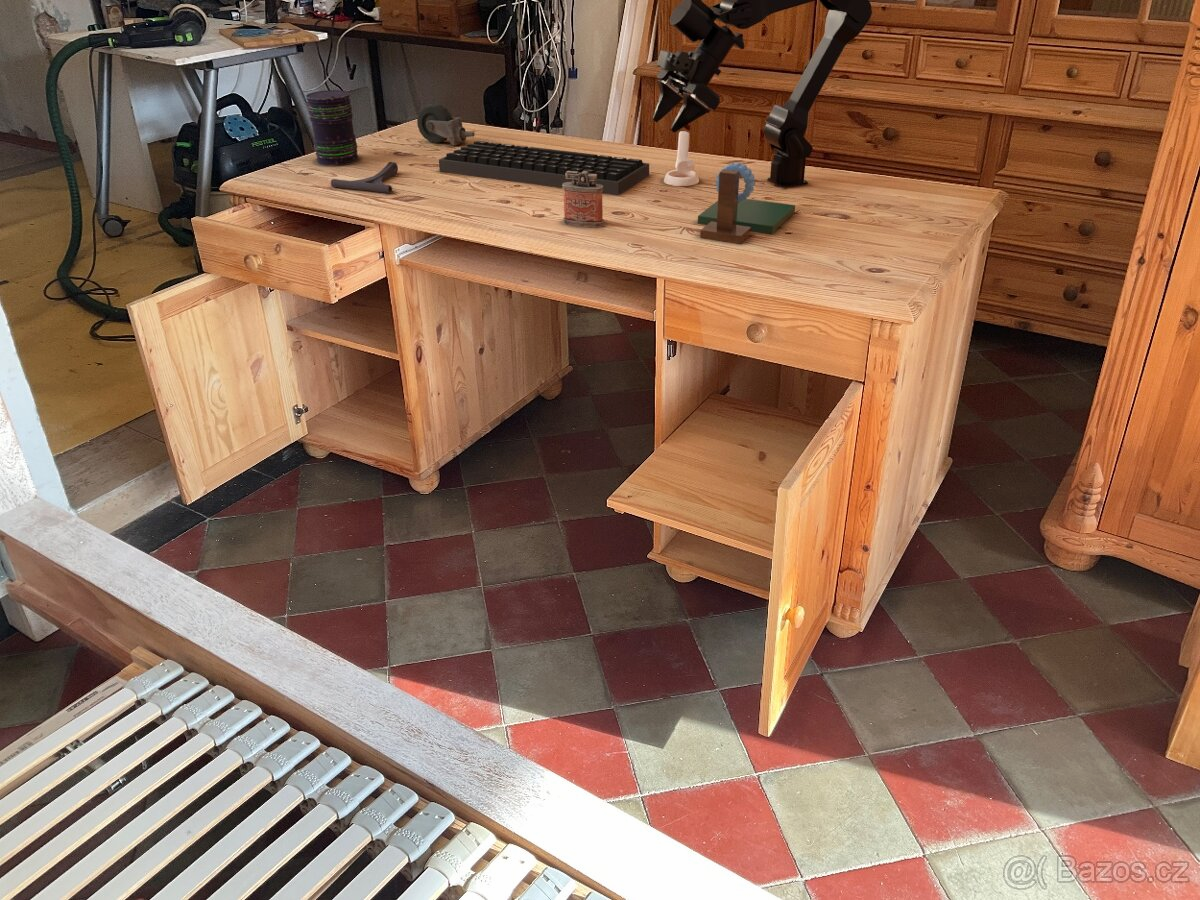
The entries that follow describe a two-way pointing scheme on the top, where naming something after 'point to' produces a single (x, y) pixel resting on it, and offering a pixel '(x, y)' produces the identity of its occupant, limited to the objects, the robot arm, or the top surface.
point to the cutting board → (754, 215)
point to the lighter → (582, 200)
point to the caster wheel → (441, 125)
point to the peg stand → (727, 211)
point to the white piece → (682, 165)
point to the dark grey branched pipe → (370, 181)
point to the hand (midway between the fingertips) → (663, 126)
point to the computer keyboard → (542, 165)
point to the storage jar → (332, 127)
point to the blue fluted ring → (745, 174)
